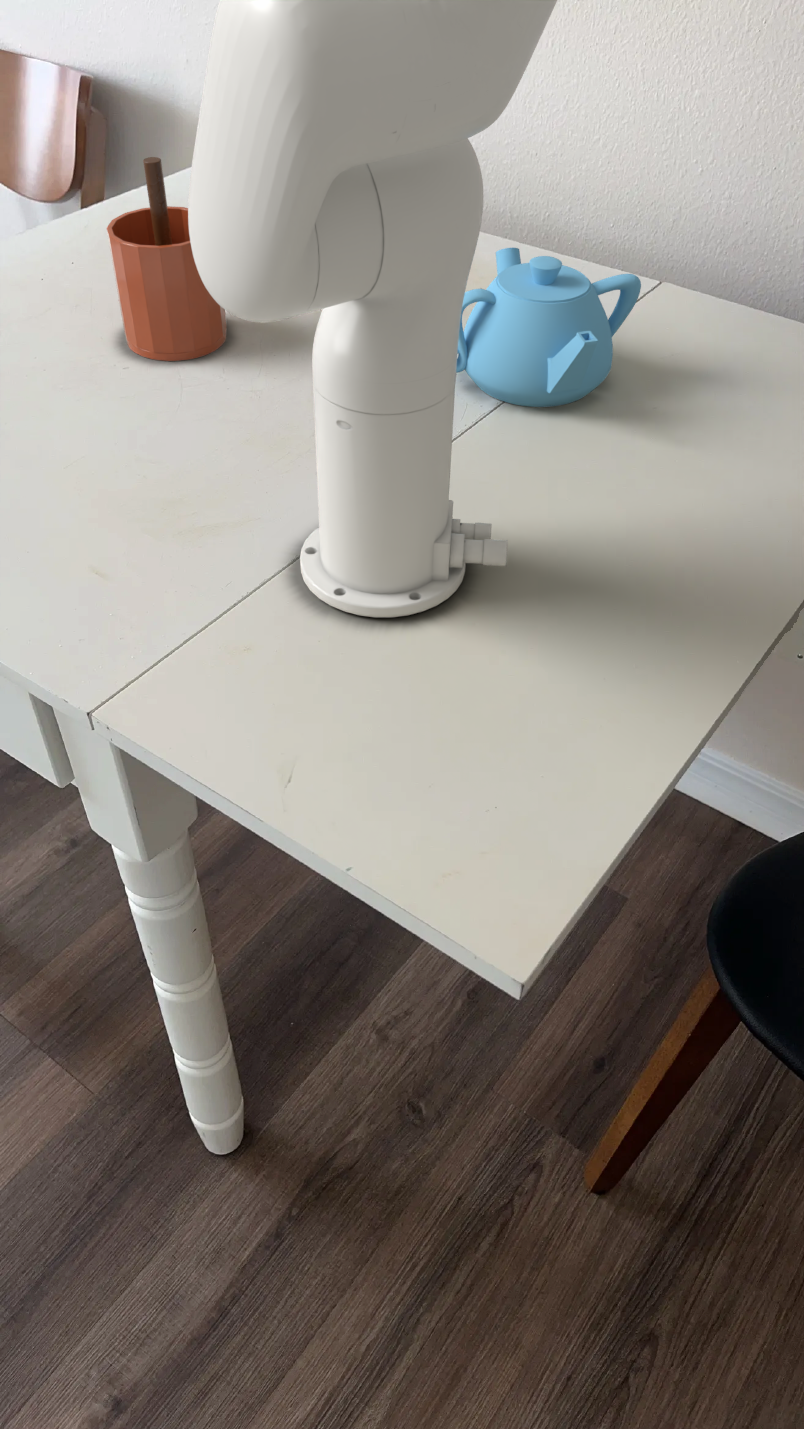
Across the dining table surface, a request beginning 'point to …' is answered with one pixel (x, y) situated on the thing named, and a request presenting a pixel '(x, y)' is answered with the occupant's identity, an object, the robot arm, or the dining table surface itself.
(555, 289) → the teapot
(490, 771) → the dining table surface
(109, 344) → the dining table surface
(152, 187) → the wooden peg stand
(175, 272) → the holder
